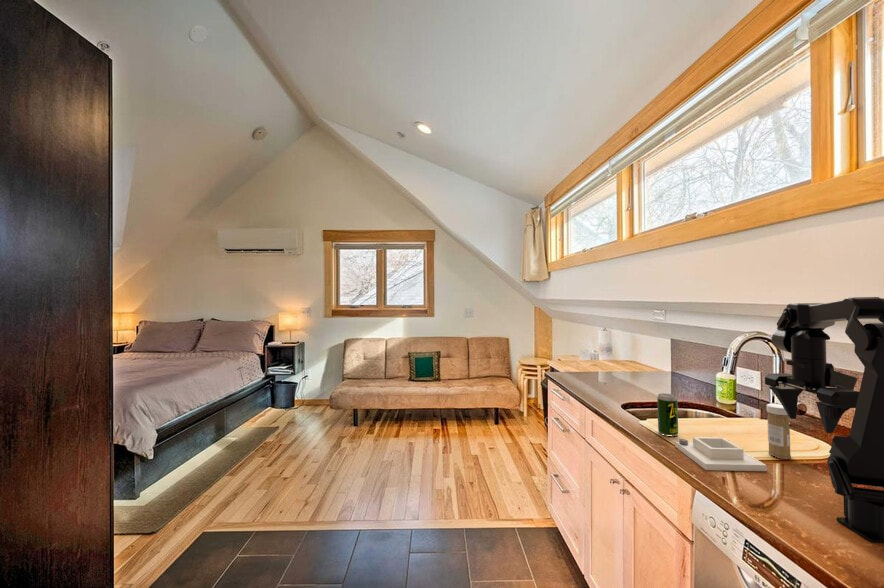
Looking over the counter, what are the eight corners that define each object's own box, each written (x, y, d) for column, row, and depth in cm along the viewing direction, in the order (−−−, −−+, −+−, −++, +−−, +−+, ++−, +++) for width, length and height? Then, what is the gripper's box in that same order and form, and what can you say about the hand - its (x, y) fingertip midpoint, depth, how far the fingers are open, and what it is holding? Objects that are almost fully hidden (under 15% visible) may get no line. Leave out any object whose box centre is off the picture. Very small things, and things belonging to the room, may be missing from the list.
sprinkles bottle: (796, 459, 96) (794, 407, 96) (779, 460, 96) (778, 408, 96) (779, 452, 100) (777, 402, 101) (763, 452, 100) (761, 403, 100)
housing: (766, 471, 90) (766, 454, 90) (705, 470, 91) (705, 453, 91) (727, 447, 104) (727, 433, 104) (675, 446, 105) (675, 432, 105)
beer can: (654, 432, 116) (653, 394, 116) (664, 429, 119) (663, 392, 119) (671, 438, 111) (670, 398, 111) (682, 435, 114) (681, 396, 114)
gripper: (893, 365, 75) (895, 442, 75) (809, 351, 93) (811, 412, 93) (833, 365, 76) (835, 441, 76) (762, 351, 94) (764, 412, 94)
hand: (810, 425), depth 85 cm, fingers open, 9 cm apart
